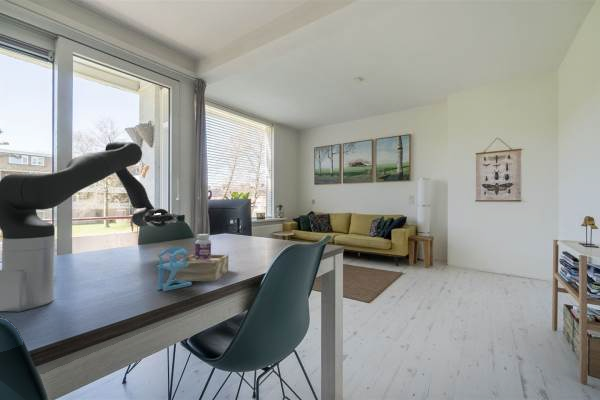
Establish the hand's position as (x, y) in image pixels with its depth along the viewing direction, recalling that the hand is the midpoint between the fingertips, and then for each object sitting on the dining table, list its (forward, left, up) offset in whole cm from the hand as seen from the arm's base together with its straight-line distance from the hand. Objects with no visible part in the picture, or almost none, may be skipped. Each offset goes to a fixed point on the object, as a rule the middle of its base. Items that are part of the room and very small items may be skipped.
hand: (171, 218), depth 99 cm
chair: (-18, -10, -20) cm, 29 cm away
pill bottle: (-4, -14, -15) cm, 21 cm away
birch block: (-4, -14, -20) cm, 25 cm away
